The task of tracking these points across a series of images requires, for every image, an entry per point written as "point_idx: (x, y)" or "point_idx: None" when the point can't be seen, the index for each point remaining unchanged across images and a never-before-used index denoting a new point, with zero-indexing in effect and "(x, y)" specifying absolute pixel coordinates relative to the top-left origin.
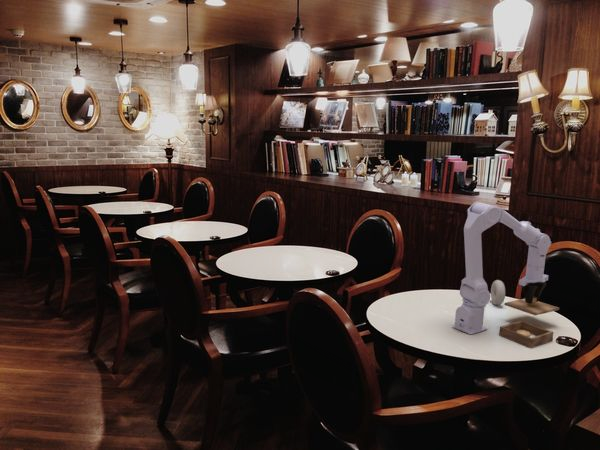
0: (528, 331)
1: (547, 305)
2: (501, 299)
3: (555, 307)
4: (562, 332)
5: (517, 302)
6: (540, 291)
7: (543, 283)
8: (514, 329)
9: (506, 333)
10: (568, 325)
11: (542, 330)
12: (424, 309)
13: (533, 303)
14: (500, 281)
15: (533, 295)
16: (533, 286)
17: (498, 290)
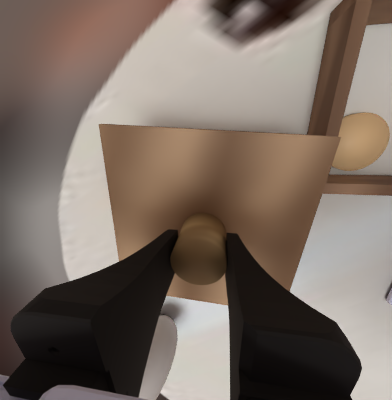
0: None
1: (129, 186)
2: (170, 331)
3: (116, 139)
4: (185, 67)
5: (223, 286)
6: (140, 265)
7: (57, 336)
8: (364, 177)
9: None
10: (97, 108)
11: (353, 59)
12: (371, 396)
13: (216, 226)
14: None
15: (236, 260)
16: (315, 363)
17: (167, 374)
